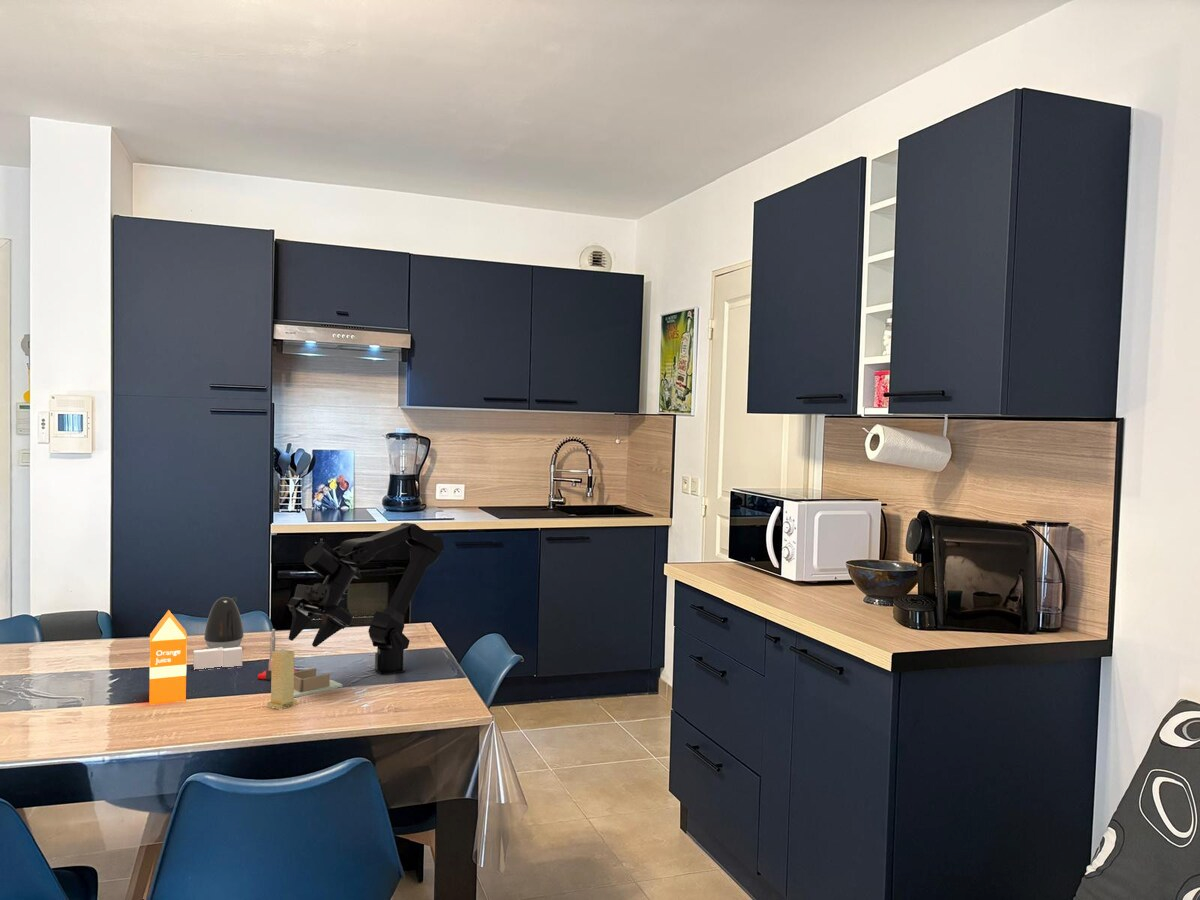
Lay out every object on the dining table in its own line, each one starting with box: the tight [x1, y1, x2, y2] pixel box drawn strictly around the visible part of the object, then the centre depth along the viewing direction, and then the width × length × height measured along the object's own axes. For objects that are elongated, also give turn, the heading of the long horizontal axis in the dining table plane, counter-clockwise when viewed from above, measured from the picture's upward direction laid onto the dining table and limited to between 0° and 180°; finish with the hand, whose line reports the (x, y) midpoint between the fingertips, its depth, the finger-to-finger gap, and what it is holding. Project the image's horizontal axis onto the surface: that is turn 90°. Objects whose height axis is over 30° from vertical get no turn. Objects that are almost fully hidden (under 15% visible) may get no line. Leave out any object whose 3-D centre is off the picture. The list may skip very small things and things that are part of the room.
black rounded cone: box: [203, 596, 244, 649], centre depth 245 cm, size 10×10×15 cm
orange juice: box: [148, 609, 188, 706], centre depth 202 cm, size 8×9×20 cm
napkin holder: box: [192, 646, 243, 671], centre depth 227 cm, size 15×11×6 cm
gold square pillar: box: [267, 648, 298, 710], centre depth 198 cm, size 5×4×12 cm
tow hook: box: [257, 628, 297, 681], centre depth 222 cm, size 8×13×9 cm
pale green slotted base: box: [294, 667, 343, 698], centre depth 212 cm, size 13×9×4 cm
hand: (301, 643), depth 206 cm, fingers open, 9 cm apart
